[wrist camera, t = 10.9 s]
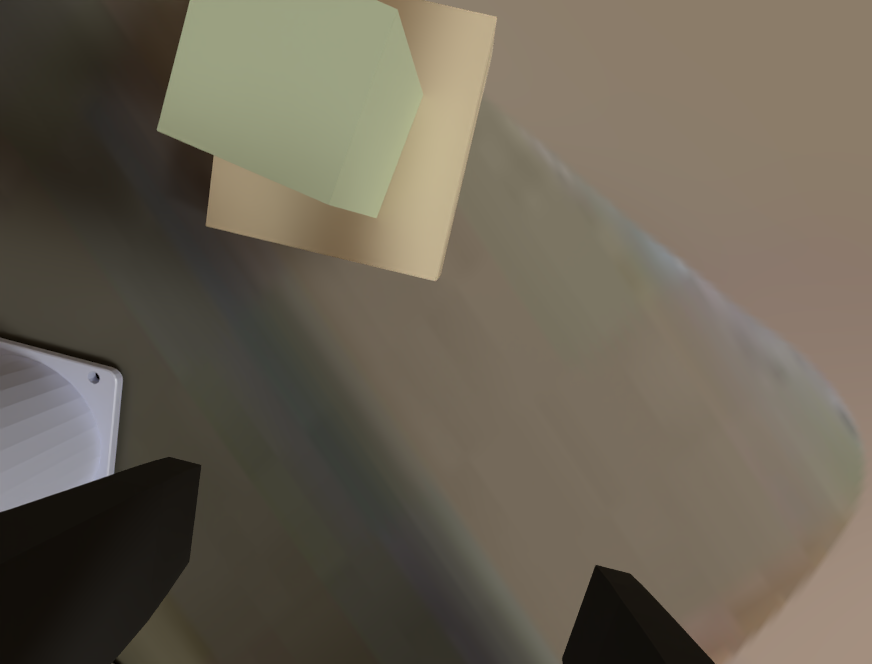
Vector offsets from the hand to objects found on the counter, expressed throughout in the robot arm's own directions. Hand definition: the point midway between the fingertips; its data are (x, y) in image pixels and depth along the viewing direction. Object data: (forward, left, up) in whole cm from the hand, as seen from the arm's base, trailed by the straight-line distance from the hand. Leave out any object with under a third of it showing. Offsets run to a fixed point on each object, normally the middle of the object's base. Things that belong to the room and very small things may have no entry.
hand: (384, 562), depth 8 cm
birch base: (-5, +8, -11) cm, 14 cm away
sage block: (-5, +8, -8) cm, 12 cm away
